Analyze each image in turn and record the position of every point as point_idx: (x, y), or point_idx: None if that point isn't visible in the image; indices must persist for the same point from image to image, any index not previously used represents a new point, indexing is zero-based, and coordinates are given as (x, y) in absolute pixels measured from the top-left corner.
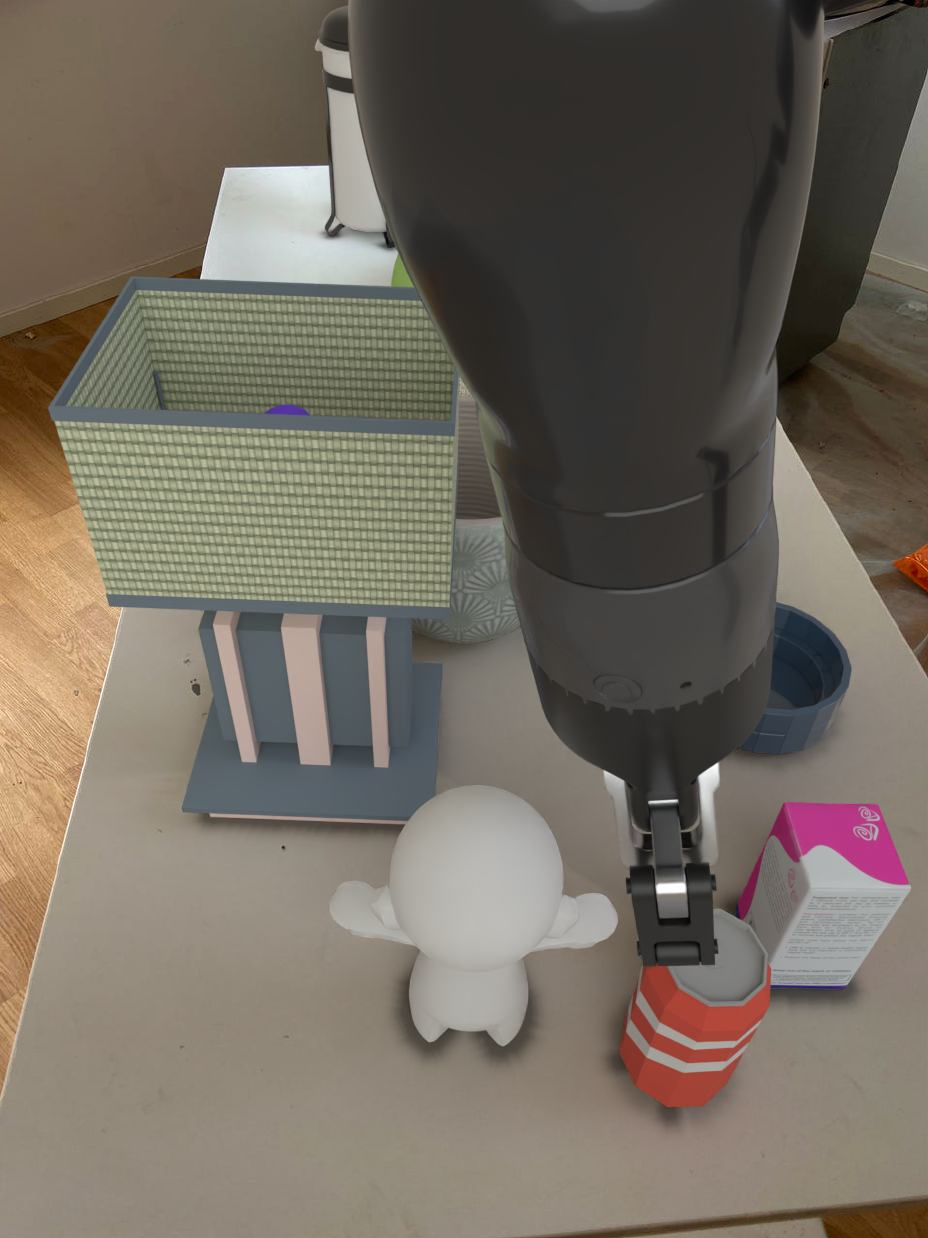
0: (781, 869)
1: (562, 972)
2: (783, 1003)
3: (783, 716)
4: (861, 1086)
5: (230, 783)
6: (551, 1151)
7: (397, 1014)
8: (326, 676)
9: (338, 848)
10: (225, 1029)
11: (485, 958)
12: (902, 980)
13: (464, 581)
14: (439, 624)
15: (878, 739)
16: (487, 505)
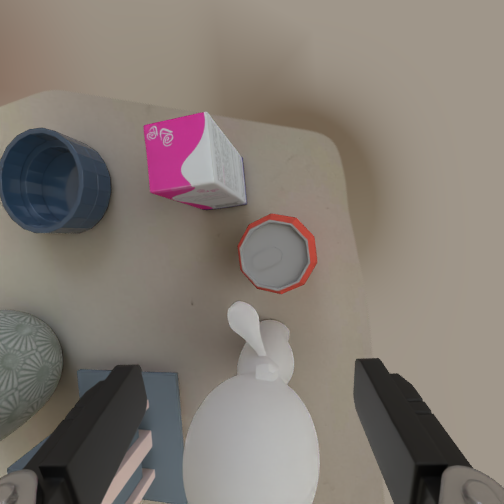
0: (195, 195)
1: (248, 300)
2: (252, 190)
3: (83, 175)
4: (290, 155)
5: (168, 482)
6: (335, 307)
7: None
8: None
9: (195, 411)
10: None
11: (318, 445)
12: (234, 126)
13: (6, 391)
14: (48, 381)
15: (92, 118)
16: None
